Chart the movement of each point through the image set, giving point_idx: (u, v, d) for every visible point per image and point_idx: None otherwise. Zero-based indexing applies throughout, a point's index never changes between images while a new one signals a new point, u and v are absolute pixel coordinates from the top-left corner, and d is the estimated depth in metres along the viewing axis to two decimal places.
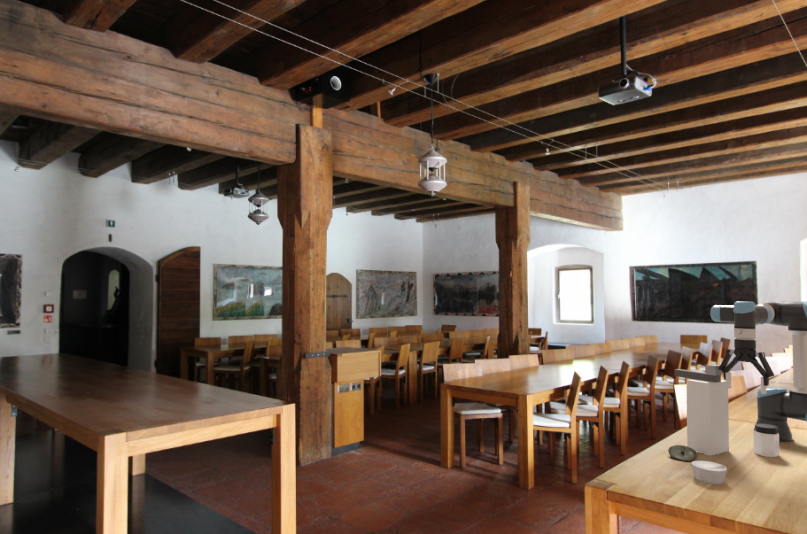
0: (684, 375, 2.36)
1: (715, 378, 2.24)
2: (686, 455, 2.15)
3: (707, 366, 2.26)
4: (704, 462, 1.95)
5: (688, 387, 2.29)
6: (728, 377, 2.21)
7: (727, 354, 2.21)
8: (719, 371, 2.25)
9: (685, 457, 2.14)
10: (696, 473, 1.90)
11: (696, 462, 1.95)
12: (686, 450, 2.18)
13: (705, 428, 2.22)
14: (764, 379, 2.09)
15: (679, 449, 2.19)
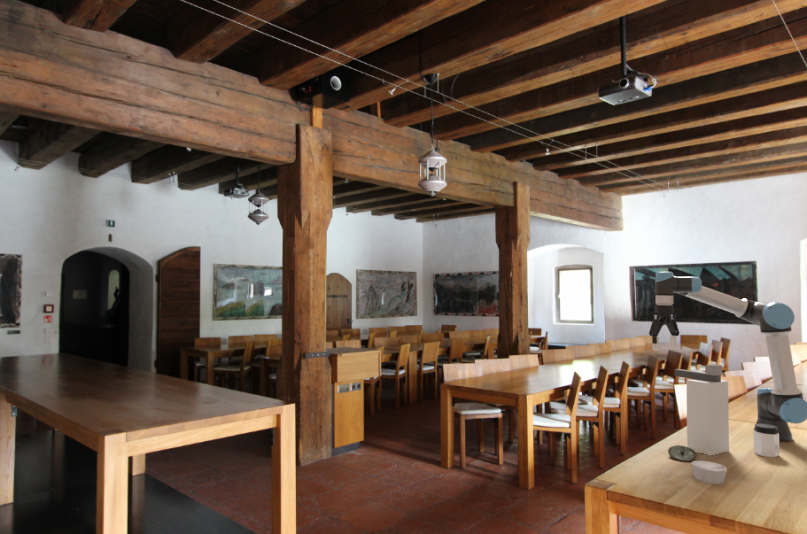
0: (684, 375, 2.36)
1: (715, 378, 2.24)
2: (686, 455, 2.15)
3: (707, 366, 2.26)
4: (704, 462, 1.95)
5: (688, 387, 2.29)
6: (671, 339, 2.50)
7: None
8: (719, 371, 2.25)
9: (684, 458, 2.13)
10: (696, 473, 1.90)
11: (696, 462, 1.95)
12: (686, 450, 2.17)
13: (705, 428, 2.22)
14: None
15: (679, 449, 2.19)
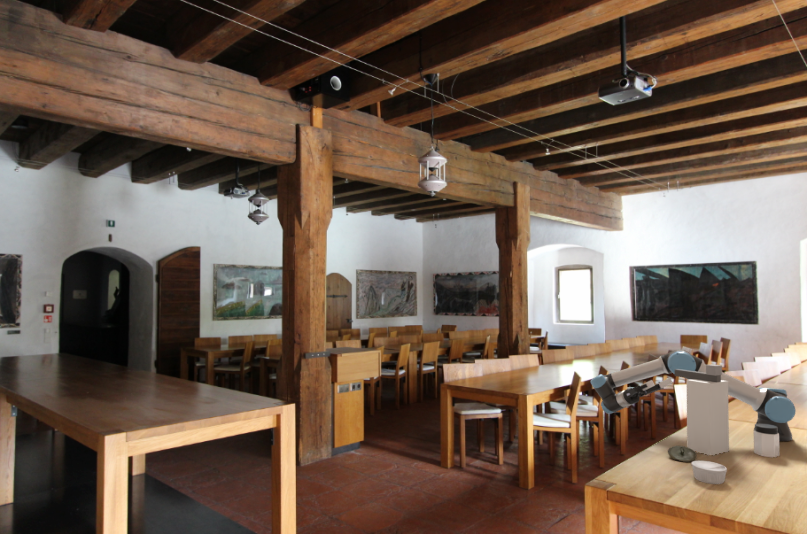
0: (684, 375, 2.36)
1: (715, 378, 2.24)
2: (686, 456, 2.14)
3: (707, 366, 2.26)
4: (704, 462, 1.95)
5: (688, 387, 2.29)
6: (663, 385, 2.53)
7: (648, 393, 2.60)
8: (719, 371, 2.25)
9: (684, 458, 2.13)
10: (696, 473, 1.90)
11: (696, 462, 1.95)
12: (686, 451, 2.17)
13: (705, 428, 2.22)
14: (643, 388, 2.47)
15: (679, 450, 2.18)
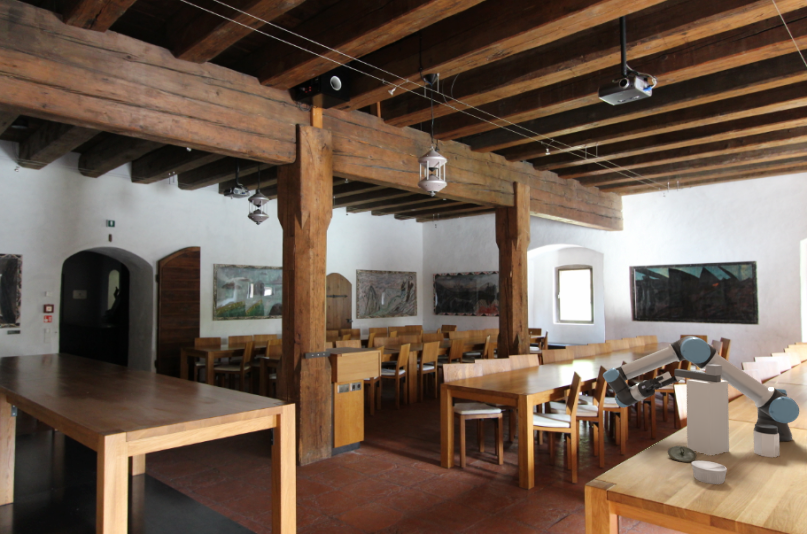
0: (684, 375, 2.36)
1: (715, 378, 2.24)
2: (685, 456, 2.14)
3: (707, 366, 2.26)
4: (704, 462, 1.95)
5: (688, 387, 2.29)
6: (679, 377, 2.46)
7: (664, 386, 2.52)
8: (719, 371, 2.25)
9: (684, 458, 2.13)
10: (696, 473, 1.90)
11: (696, 462, 1.95)
12: (685, 451, 2.17)
13: (705, 428, 2.22)
14: (659, 381, 2.40)
15: (678, 450, 2.18)
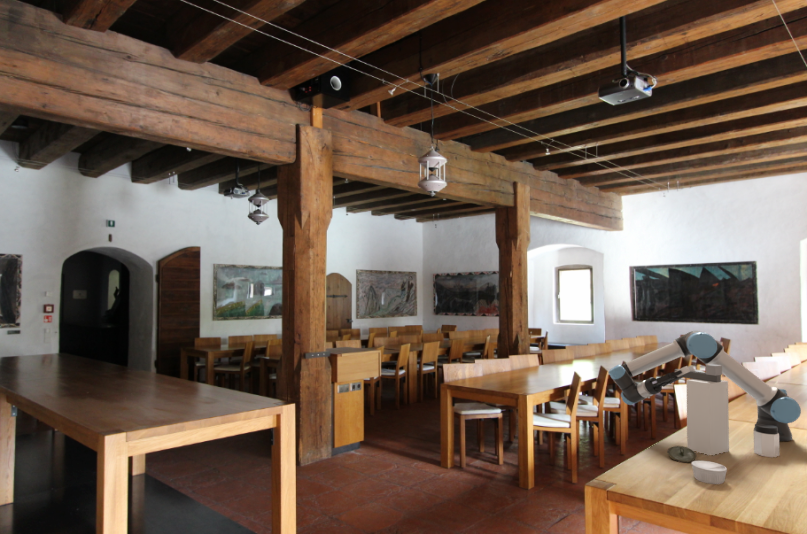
0: (684, 375, 2.36)
1: (715, 378, 2.24)
2: (685, 456, 2.14)
3: (707, 366, 2.26)
4: (704, 462, 1.95)
5: (688, 387, 2.29)
6: None
7: (672, 382, 2.48)
8: (719, 371, 2.25)
9: (684, 458, 2.12)
10: (696, 473, 1.90)
11: (696, 462, 1.95)
12: (685, 451, 2.16)
13: (705, 428, 2.22)
14: (677, 375, 2.38)
15: (678, 450, 2.18)
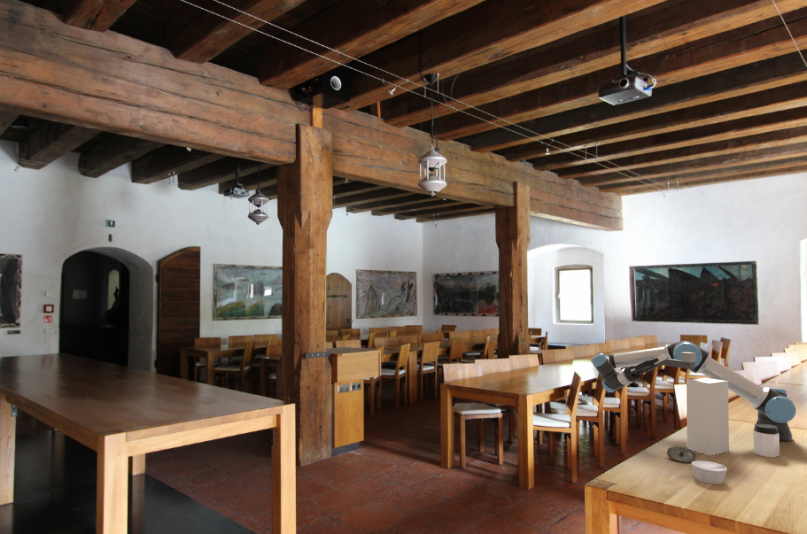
0: (660, 363, 2.46)
1: (689, 365, 2.34)
2: (685, 456, 2.13)
3: (682, 353, 2.36)
4: (704, 462, 1.95)
5: (688, 387, 2.29)
6: None
7: (650, 370, 2.58)
8: (693, 358, 2.35)
9: (684, 459, 2.12)
10: (696, 473, 1.90)
11: (696, 462, 1.95)
12: (685, 451, 2.16)
13: (705, 428, 2.22)
14: (654, 362, 2.48)
15: (678, 450, 2.17)
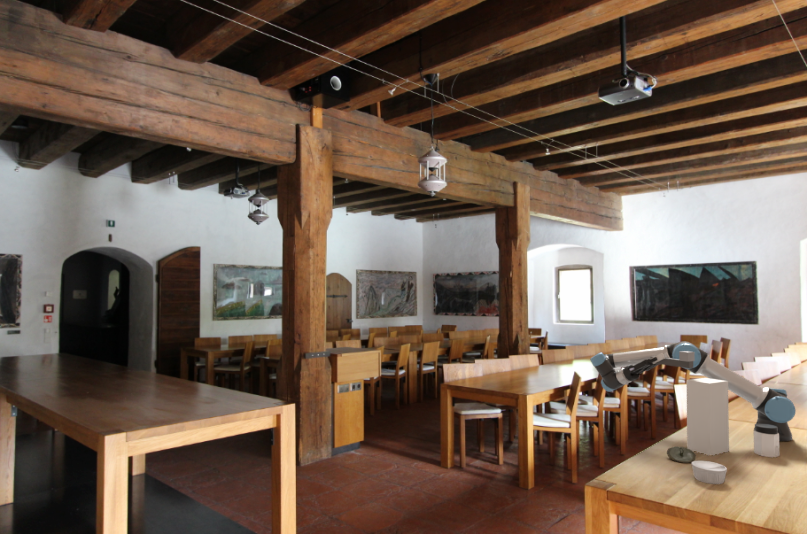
0: (659, 362, 2.47)
1: (688, 364, 2.35)
2: (685, 457, 2.13)
3: (680, 353, 2.37)
4: (704, 462, 1.95)
5: (688, 387, 2.29)
6: None
7: (649, 369, 2.58)
8: (691, 357, 2.35)
9: (683, 459, 2.12)
10: (696, 473, 1.90)
11: (696, 462, 1.95)
12: (685, 451, 2.16)
13: (705, 428, 2.22)
14: (653, 362, 2.48)
15: (678, 450, 2.17)
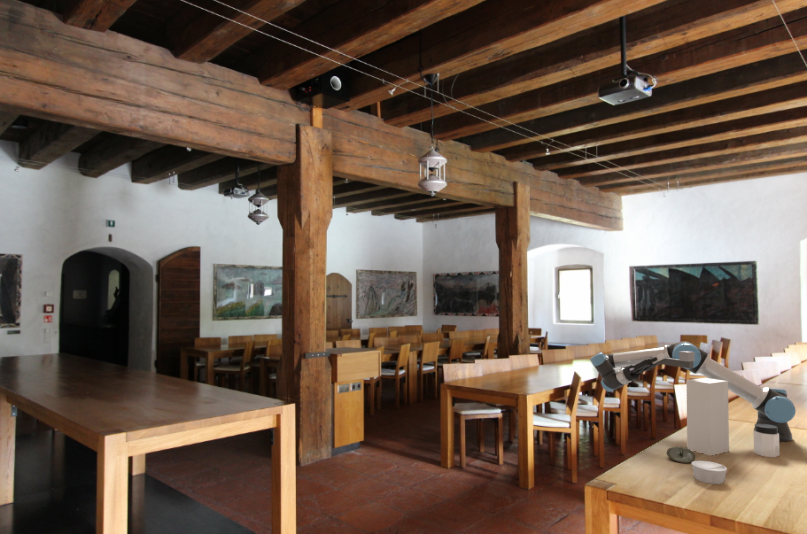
0: (659, 362, 2.47)
1: (688, 364, 2.35)
2: (685, 457, 2.13)
3: (680, 353, 2.37)
4: (704, 462, 1.95)
5: (688, 387, 2.29)
6: None
7: (649, 369, 2.58)
8: (691, 357, 2.35)
9: (683, 459, 2.11)
10: (696, 473, 1.90)
11: (696, 462, 1.95)
12: (685, 452, 2.15)
13: (705, 428, 2.22)
14: (653, 362, 2.48)
15: (677, 451, 2.17)
